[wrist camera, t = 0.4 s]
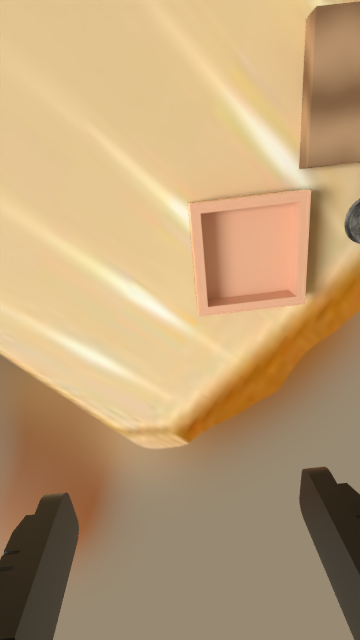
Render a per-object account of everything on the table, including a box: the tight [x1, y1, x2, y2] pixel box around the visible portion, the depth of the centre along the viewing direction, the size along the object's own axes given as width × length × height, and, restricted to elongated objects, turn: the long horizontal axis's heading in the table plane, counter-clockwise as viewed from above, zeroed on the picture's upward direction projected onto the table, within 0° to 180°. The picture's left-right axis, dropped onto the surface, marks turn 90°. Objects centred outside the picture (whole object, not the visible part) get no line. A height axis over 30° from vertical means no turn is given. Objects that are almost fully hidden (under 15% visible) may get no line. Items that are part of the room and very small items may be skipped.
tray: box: [188, 189, 311, 316], centre depth 33 cm, size 12×12×3 cm
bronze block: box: [299, 2, 360, 169], centre depth 29 cm, size 12×8×2 cm, turn 6°
